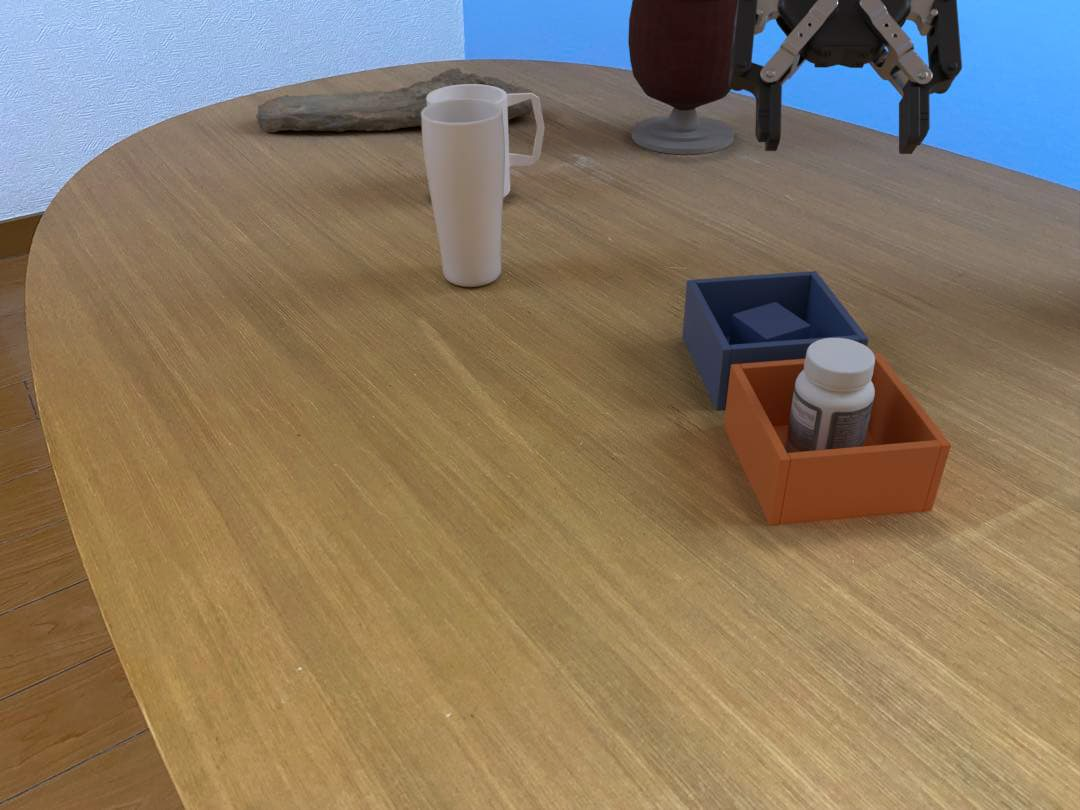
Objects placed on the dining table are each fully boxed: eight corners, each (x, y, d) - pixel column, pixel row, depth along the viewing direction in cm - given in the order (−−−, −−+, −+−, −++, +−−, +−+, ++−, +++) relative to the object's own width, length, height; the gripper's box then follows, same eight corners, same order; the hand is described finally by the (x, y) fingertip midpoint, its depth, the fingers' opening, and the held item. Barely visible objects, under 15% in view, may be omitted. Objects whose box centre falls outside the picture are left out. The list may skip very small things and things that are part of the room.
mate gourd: (666, 165, 106) (678, -27, 94) (603, 129, 116) (607, -48, 104) (775, 141, 112) (799, -43, 100) (706, 109, 122) (721, -61, 110)
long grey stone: (268, 124, 124) (258, 155, 116) (258, 84, 120) (246, 113, 113) (532, 97, 125) (539, 126, 117) (529, 57, 121) (536, 84, 114)
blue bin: (805, 333, 76) (816, 270, 72) (854, 405, 67) (869, 338, 64) (681, 342, 75) (686, 279, 71) (715, 416, 66) (723, 349, 63)
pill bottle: (860, 449, 62) (885, 340, 57) (855, 493, 58) (880, 381, 54) (787, 435, 63) (805, 328, 59) (777, 477, 60) (796, 367, 55)
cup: (548, 201, 98) (547, 105, 92) (433, 206, 98) (425, 110, 92) (542, 172, 105) (541, 81, 99) (434, 177, 104) (427, 85, 98)
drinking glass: (424, 289, 83) (407, 121, 74) (448, 256, 88) (435, 95, 79) (498, 297, 81) (489, 126, 73) (518, 262, 87) (512, 99, 78)
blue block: (769, 346, 73) (775, 301, 70) (803, 371, 70) (811, 325, 68) (726, 359, 71) (732, 313, 69) (759, 385, 68) (766, 338, 66)
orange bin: (864, 420, 66) (879, 352, 63) (930, 517, 57) (951, 444, 54) (722, 432, 65) (730, 363, 62) (768, 532, 57) (780, 459, 53)
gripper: (741, -119, 60) (734, 118, 57) (974, -122, 58) (978, 122, 56) (729, -44, 67) (722, 170, 64) (935, -44, 66) (937, 174, 63)
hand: (840, 147), depth 60 cm, fingers open, 8 cm apart
